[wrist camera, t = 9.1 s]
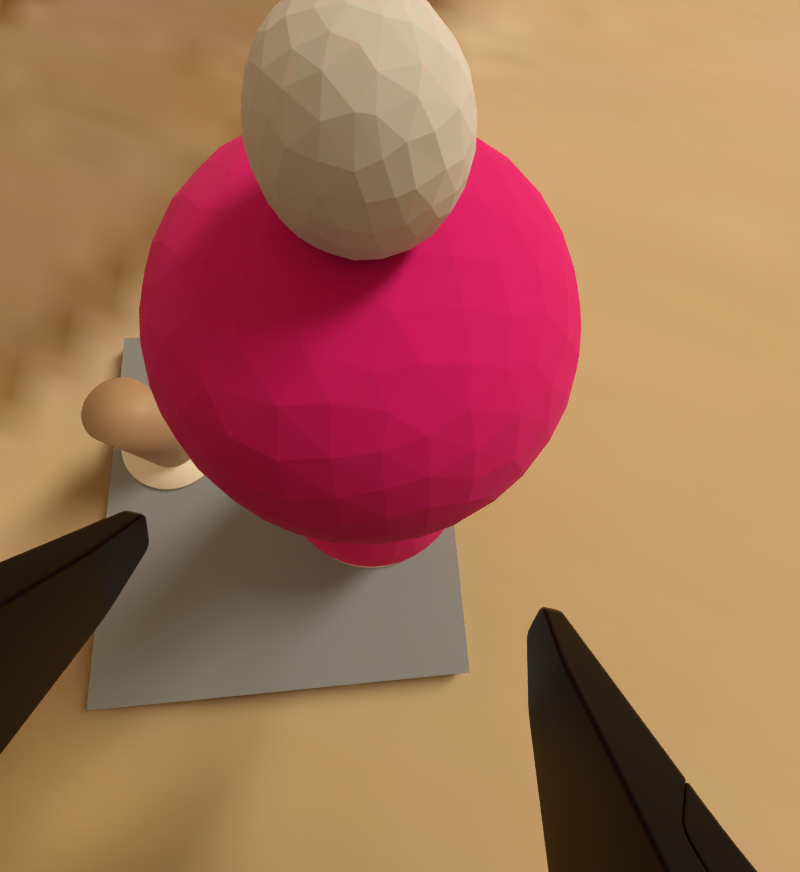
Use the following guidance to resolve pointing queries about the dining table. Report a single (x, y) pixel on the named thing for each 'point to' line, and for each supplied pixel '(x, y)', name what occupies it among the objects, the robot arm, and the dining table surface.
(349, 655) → the board
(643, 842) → the robot arm
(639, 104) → the dining table surface
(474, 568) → the dining table surface
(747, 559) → the dining table surface
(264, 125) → the pepper mill
